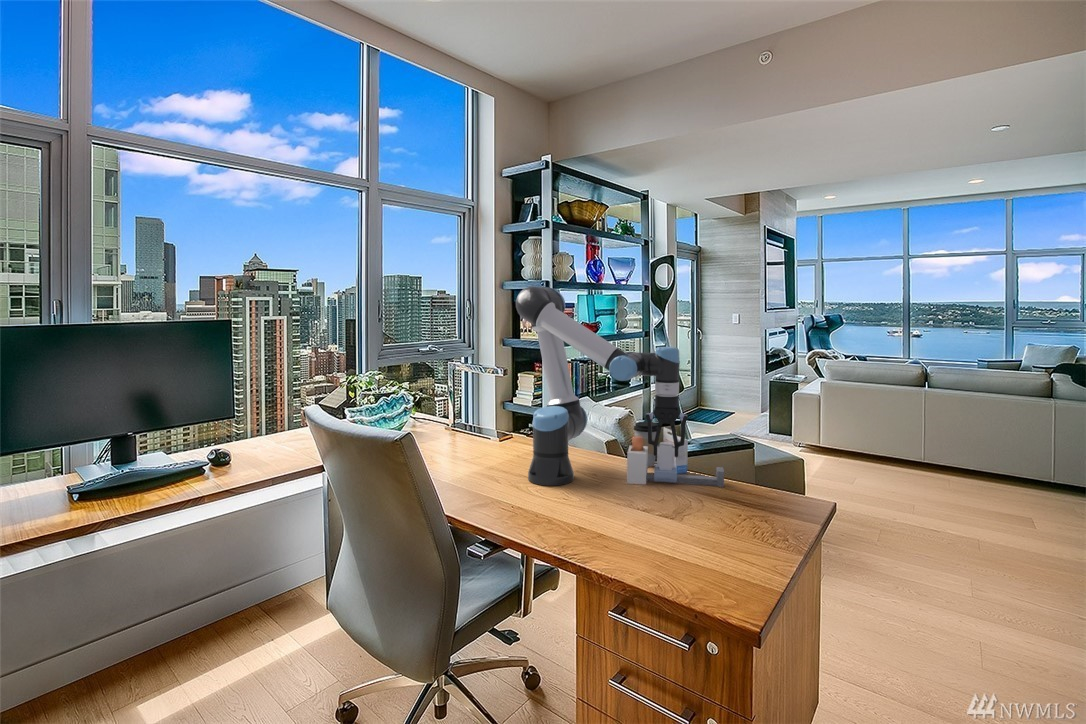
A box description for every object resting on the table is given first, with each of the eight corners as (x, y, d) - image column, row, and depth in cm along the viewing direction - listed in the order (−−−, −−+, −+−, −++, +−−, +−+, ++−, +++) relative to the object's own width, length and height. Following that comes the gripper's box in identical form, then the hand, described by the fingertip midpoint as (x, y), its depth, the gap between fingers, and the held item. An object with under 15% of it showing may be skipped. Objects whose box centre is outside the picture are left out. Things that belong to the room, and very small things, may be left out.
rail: (646, 482, 175) (646, 467, 175) (647, 477, 180) (647, 462, 180) (723, 487, 170) (724, 471, 169) (722, 482, 175) (722, 467, 174)
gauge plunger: (631, 450, 176) (631, 438, 176) (632, 447, 180) (632, 436, 179) (643, 451, 175) (643, 439, 175) (643, 448, 179) (643, 436, 179)
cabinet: (627, 483, 174) (627, 452, 174) (629, 474, 184) (629, 445, 183) (645, 484, 173) (646, 453, 172) (647, 475, 183) (647, 446, 182)
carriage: (654, 482, 173) (654, 446, 172) (655, 474, 182) (655, 440, 180) (676, 483, 171) (677, 448, 170) (676, 475, 180) (677, 441, 179)
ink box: (688, 473, 185) (688, 430, 184) (675, 474, 184) (676, 431, 182) (673, 466, 193) (674, 425, 192) (661, 467, 191) (662, 426, 190)
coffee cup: (658, 461, 200) (658, 421, 198) (661, 468, 190) (661, 426, 189) (632, 460, 201) (632, 421, 199) (633, 468, 191) (634, 426, 190)
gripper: (639, 395, 172) (638, 467, 174) (694, 397, 168) (693, 470, 170) (640, 392, 179) (639, 461, 182) (693, 393, 175) (692, 464, 178)
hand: (665, 465), depth 176 cm, fingers closed on carriage, 4 cm apart
